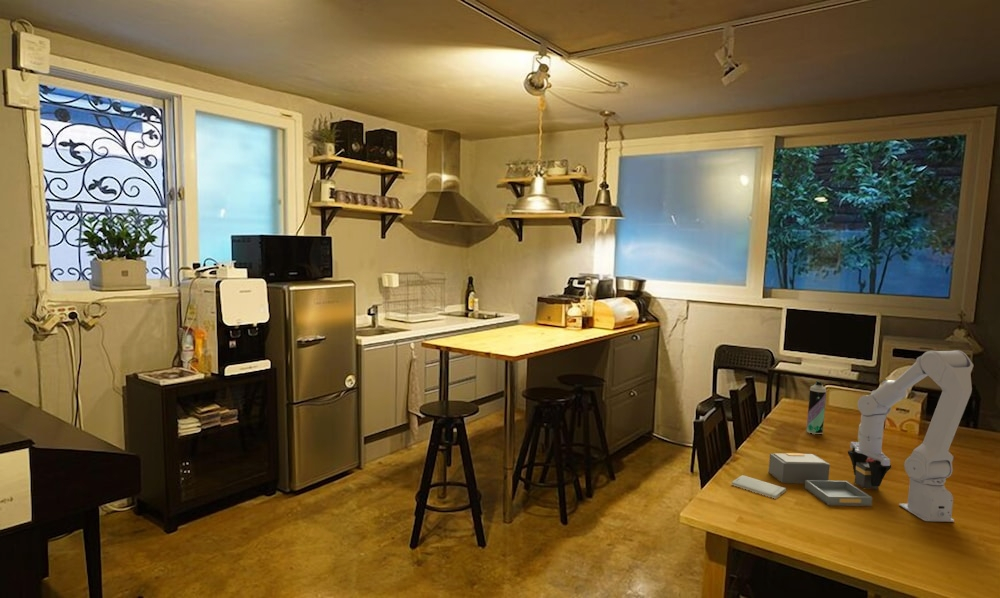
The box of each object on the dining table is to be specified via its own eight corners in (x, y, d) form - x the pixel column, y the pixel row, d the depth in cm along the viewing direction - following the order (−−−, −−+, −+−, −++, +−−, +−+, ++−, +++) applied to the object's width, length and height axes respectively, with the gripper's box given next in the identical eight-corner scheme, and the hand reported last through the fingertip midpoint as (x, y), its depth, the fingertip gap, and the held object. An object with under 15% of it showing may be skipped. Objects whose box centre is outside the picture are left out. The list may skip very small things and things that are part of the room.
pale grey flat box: (828, 483, 171) (829, 462, 170) (782, 482, 170) (783, 461, 170) (812, 472, 179) (813, 452, 178) (768, 472, 178) (769, 451, 178)
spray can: (803, 430, 222) (807, 380, 221) (814, 429, 224) (818, 379, 222) (814, 435, 217) (819, 383, 215) (826, 434, 219) (830, 382, 217)
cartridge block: (878, 489, 168) (880, 467, 168) (863, 488, 168) (865, 467, 168) (869, 483, 172) (871, 462, 172) (854, 483, 172) (856, 462, 172)
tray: (871, 506, 156) (872, 497, 156) (828, 505, 156) (828, 496, 156) (845, 488, 168) (846, 480, 167) (804, 488, 167) (805, 480, 167)
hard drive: (731, 481, 167) (776, 495, 159) (742, 474, 173) (786, 487, 164) (731, 487, 167) (775, 501, 159) (742, 479, 173) (785, 492, 165)
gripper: (842, 427, 176) (838, 470, 177) (874, 443, 161) (870, 490, 163) (864, 428, 176) (860, 470, 177) (899, 444, 162) (894, 490, 163)
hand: (866, 480), depth 170 cm, fingers open, 7 cm apart
